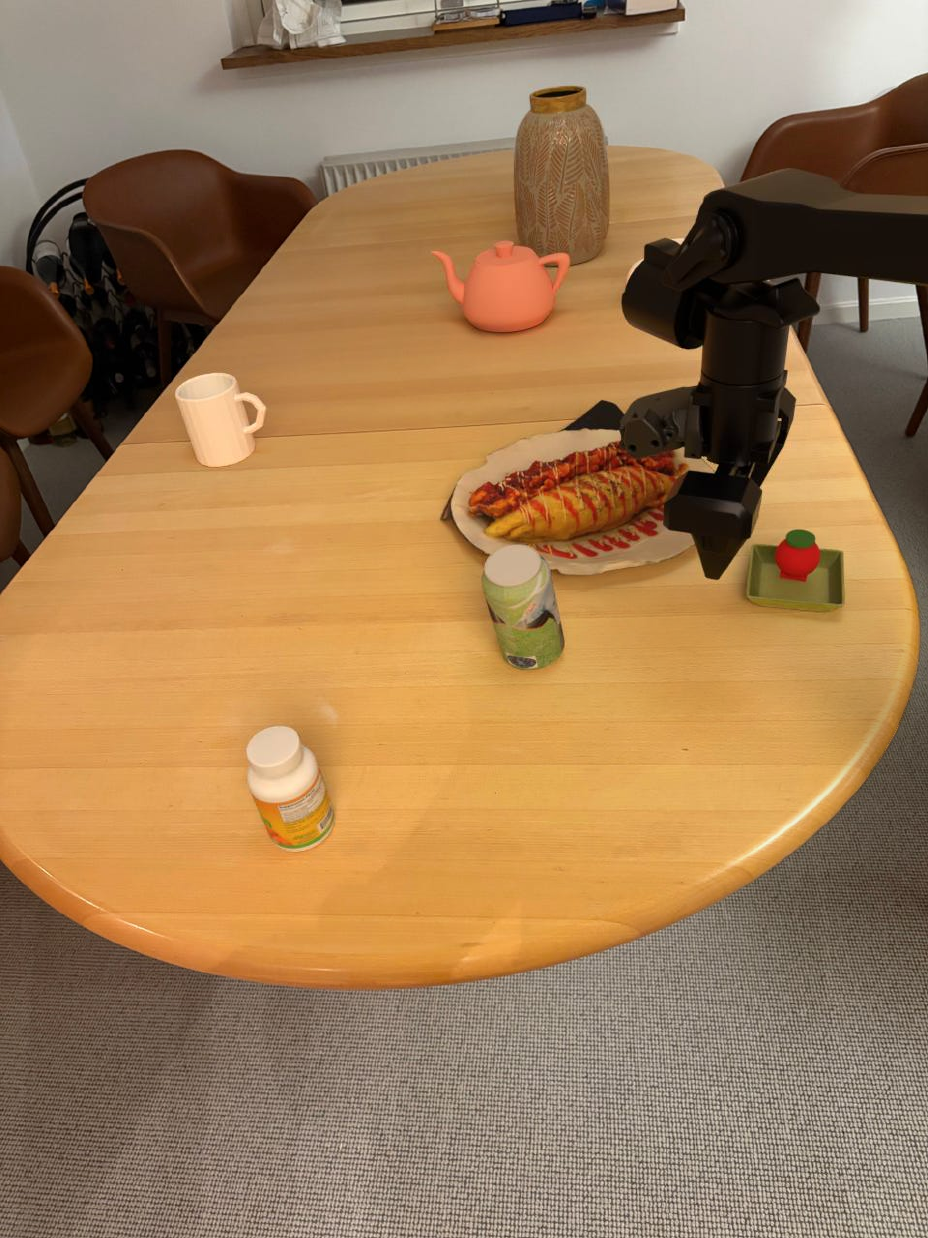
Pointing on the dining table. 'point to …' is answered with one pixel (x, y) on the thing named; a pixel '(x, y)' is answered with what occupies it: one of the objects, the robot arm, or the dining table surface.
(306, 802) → the supplement bottle
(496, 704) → the dining table surface
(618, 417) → the omelette plate
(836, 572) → the green shallow tray
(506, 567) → the beverage can
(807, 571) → the strawberry
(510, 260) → the teapot
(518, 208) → the vase
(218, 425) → the mug
